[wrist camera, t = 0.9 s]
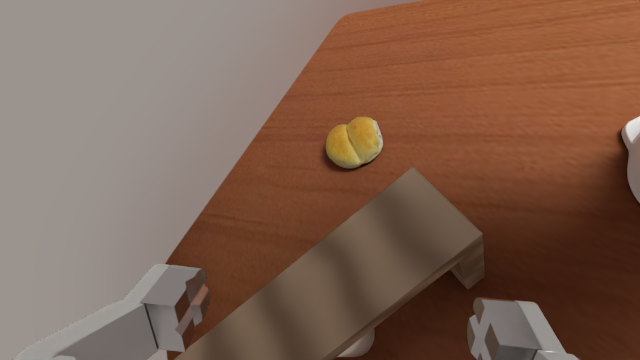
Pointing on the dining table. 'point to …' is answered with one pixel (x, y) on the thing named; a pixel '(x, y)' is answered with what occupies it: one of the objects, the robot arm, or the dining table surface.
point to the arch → (352, 279)
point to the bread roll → (354, 143)
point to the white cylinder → (360, 346)
